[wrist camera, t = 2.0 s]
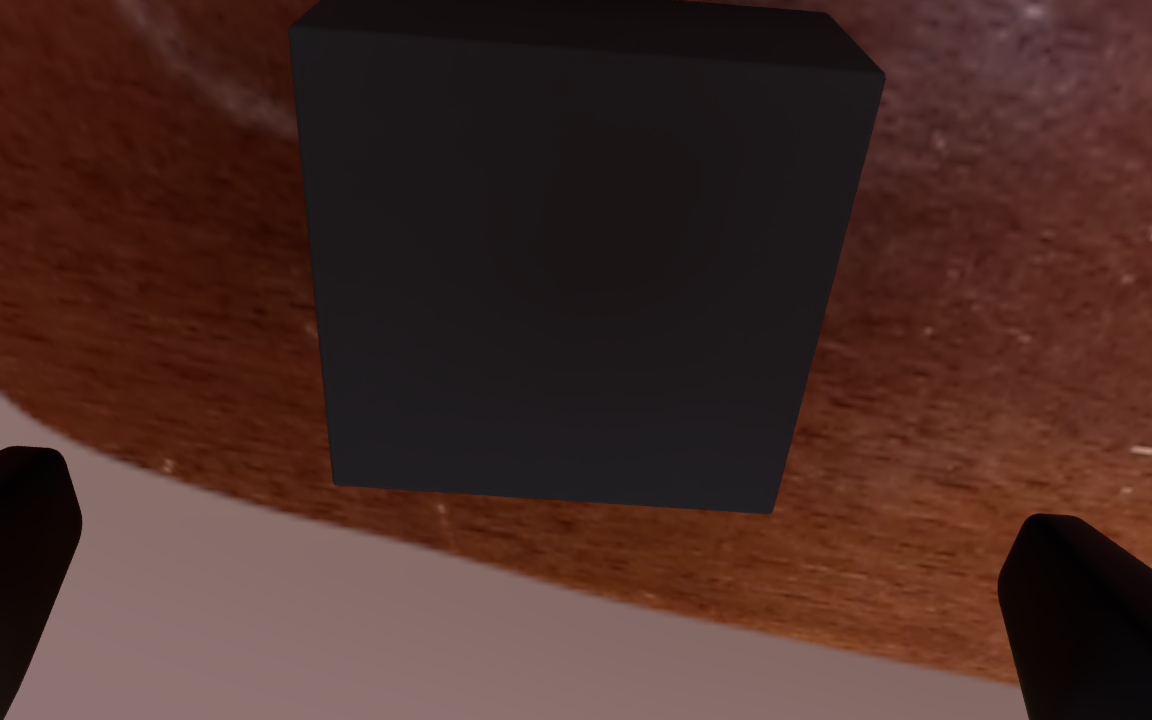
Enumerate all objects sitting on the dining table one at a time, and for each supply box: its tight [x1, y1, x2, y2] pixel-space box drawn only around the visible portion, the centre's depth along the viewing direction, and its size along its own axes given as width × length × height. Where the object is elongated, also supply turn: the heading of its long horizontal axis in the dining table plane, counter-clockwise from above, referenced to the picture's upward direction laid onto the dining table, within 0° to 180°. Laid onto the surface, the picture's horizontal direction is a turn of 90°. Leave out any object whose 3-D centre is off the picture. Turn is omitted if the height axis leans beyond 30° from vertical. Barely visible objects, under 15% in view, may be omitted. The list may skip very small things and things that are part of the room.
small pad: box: [288, 0, 886, 514], centre depth 13 cm, size 7×7×3 cm
